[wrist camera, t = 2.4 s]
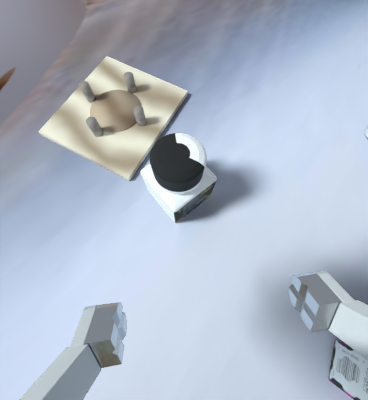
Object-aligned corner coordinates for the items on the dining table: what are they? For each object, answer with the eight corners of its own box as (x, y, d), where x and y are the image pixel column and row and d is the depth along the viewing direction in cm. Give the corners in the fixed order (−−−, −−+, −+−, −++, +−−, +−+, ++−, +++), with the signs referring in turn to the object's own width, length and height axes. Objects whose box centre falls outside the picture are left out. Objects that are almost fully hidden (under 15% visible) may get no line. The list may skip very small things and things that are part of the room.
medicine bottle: (175, 224, 30) (172, 200, 19) (147, 190, 32) (129, 149, 21) (210, 196, 32) (227, 158, 20) (182, 164, 34) (182, 113, 22)
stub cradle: (108, 61, 40) (100, 39, 37) (187, 95, 38) (188, 76, 34) (42, 135, 35) (25, 119, 31) (129, 181, 32) (122, 170, 29)
